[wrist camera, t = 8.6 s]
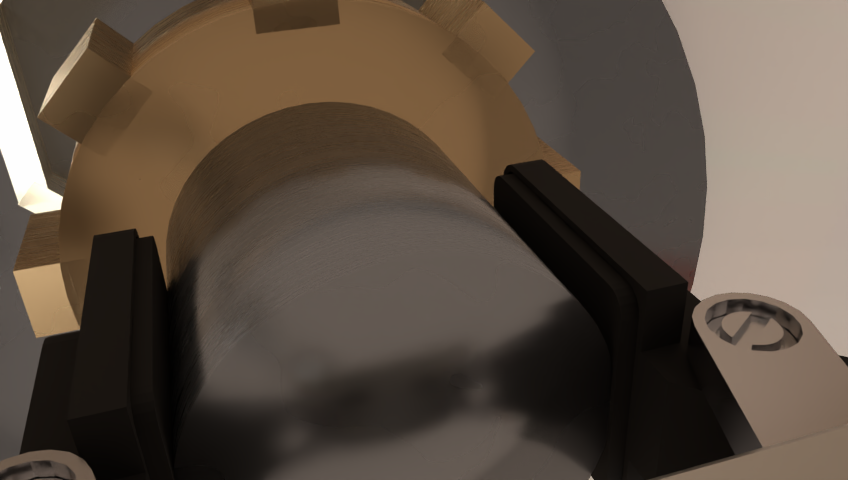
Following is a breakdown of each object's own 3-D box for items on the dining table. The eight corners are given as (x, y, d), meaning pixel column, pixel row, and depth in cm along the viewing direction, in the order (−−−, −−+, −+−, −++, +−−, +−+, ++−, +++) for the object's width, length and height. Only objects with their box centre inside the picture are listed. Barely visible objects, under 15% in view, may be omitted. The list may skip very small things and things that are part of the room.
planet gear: (-50, -34, 11) (-277, 118, 5) (538, -87, 13) (845, -19, 7) (105, 445, 16) (76, 822, 10) (528, 347, 18) (715, 605, 12)
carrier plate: (-656, -216, 16) (-1087, -238, 10) (742, -260, 24) (922, -285, 18) (-74, 724, 32) (-119, 913, 26) (643, 506, 40) (723, 615, 34)
